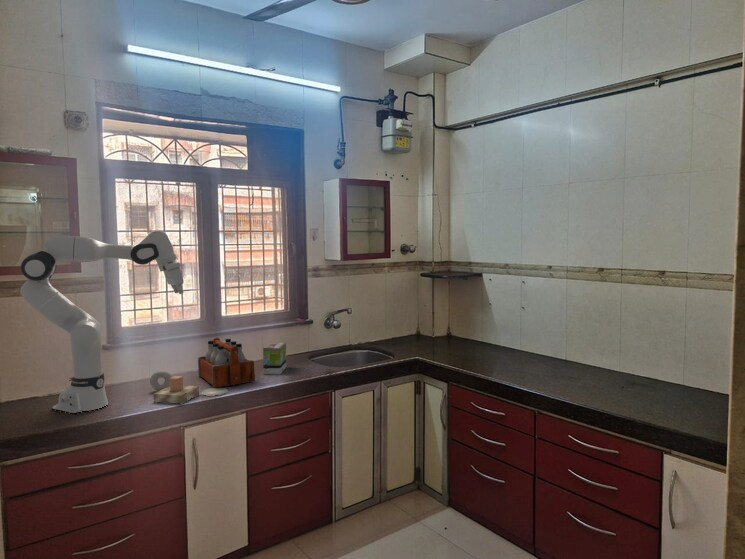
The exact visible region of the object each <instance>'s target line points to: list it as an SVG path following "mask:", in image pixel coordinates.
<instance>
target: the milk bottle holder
mask: <svg viewBox="0 0 745 559" xmlns="http://www.w3.org/2000/svg"><path fill="white" fill-rule="evenodd" d="M231 340H232V338H225V339H224V341H225V342H223V341H222V340H220V338H219V337H214V338H213V339H212V340H208V341H207V350H206V352H205V355H201V356H200V355H199V356H198V357H197V366H198V367H197V369H198V370H197V371H198V376H199V377H200V376H201V378H203V379H204V380H205V381H207V382H208V383H209V384H210V385H211V386H212V388H222V387H227V386H235V385H240V384H246V383H249V382H251V383H252V382H255V380H256V373H255V361H254V360H252V359H251V360H249V359H247V358H246V356H245V354H244V351H243V344H242V343H237V341H235V340H234V341H231Z"/></svg>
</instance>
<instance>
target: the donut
mask: <svg viewBox="0 0 745 559" xmlns="http://www.w3.org/2000/svg"><path fill="white" fill-rule="evenodd" d="M150 376H151V377H150V378H149V383H150V386H151V388H153V389H154V391H156V392H158V391H160V390H163V389H165V388H167V387H169V386H170V378H171V377H173V376H172V375H171V373H169V372H168V371H167V370H162V369H161V370H157V371H156V372H154V373H153V374H151V375H150ZM161 378H163V379H164V382H163V383H159V381H158V380H159V379H161Z"/></svg>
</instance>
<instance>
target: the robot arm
mask: <svg viewBox="0 0 745 559" xmlns="http://www.w3.org/2000/svg"><path fill="white" fill-rule="evenodd" d="M104 259H116V260H117V259H119V260H129V261H133V262H134V263H136V264H138V265H140V266H144V265H147V264H150V263H151V262H153V261H156V263H157V267H158V270H159V271H160V272H163V274H164V278H165V280H166V283H167V285H170V286H171V288H172V290H173V292H174V294H179V295H183V294H184V290H183V284H184V276H183V274H182V271H181V270H182V269H181V263H180V261H179V260H178V257H177V254H176V253H175V251H174V245H173V242H172V241H171V239H170V236H169V234H168V233H167V232H166V231H163V230H157V231H150V232H148V233H147V234H146V236H145V237H144V238H143V239H141V241H139V242H137V243H135V244H131V245H123V244H122V245H121V244H110V243H106V242H103V241H99V240H97V239H94V238H90V237H85V236H77V235H55V236H50V237H48V238H47V239H46V240H45V242H44V245H43V250H40V251H38V252H35V253H32V254H30V255H28V256H26V257H25V258H24V259H23V260H22V262H21V263H20V271H21V273H22V275H23V276H24V277H25V278H26V281H25V282H24V283H23V284H22V285H21V287H20V296H22V297H23V299H24V300H25V301H26V302H27V303H28V304H29V305H30V306H31V307H32V308H33V309H34V310H36V311H37V312H38V313H40V314H41V315H42V316H43V317H44V318H46V319H47V320H48V321H49V322H51V323H53V324H54V325H55V326H57V327H58V328H61V329H62V330H63V331H66V332H67V333H68V334H70V335H69V336H70V347H71V348H70V349H71V354H72V366H73V368H72V369H73V377H70V378H69V379H68V382H70V385H69V386H68V387H66V389H64V390H63V391H62V392H61V393H60V394H59V396H58V402H57V404H55V405H53V406H52V407H51V408H53V409H58V410H63V411H67V412H72V413H76V412H81V413H83V412H82V411H89V410H94V409H98V410H100V409H99V408H102V407H104V406H106V405H108V403H109V399H108V398H107V393H106V392H107V391H106V387H105V373H103V372H104V370H103V354H102V353H103V352H102V343H101V342H102V340H101V333H102V332H101V331H102V326H101V324H100V322H99V320H97V319H96V318H94V317H93V316H92V315H90V314H89V313H88V312H87V311H85V310H84V309H82V308H80V307H79V306H78V305H76V304H75V303H74V302H72V301H71V299H69V298H68V297H67V296H65V295H64V294H63V293H62V292H60V291H59V290H58V289H57V288H55V287H54V286H53V285H52V283H51V282H50V280H51V278H52V276H53V275H54V273H55V272H56V269H57V265H58V264H59V263H63V262H65V263H66V262H67V263H68V262H69V263H70V262H71V263H91V262H95V261H99V260H104ZM108 406H109V405H108ZM106 407H107V406H106ZM104 408H105V407H104ZM102 409H103V408H102ZM94 411H95V410H94ZM89 412H90V411H89Z"/></svg>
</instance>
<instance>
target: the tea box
mask: <svg viewBox="0 0 745 559" xmlns="http://www.w3.org/2000/svg"><path fill="white" fill-rule="evenodd" d="M262 350H263V351H262V354H263V355H262V360H263V361H262V368H263V369H262V374H263V375H281V374H282V373H283V372H284V370H285V369H286V368H287V343H286V342H268V343H267V344H266V345H265V346H264V347H263V348H262Z"/></svg>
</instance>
